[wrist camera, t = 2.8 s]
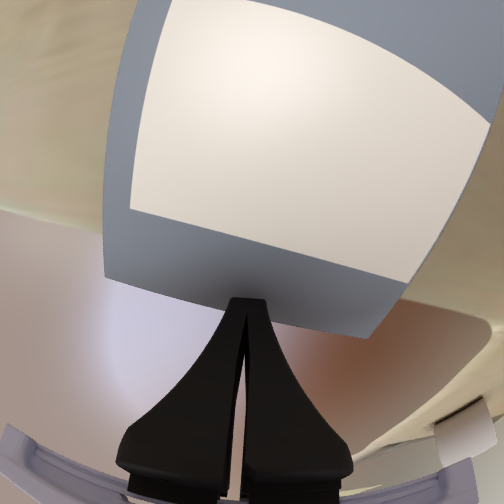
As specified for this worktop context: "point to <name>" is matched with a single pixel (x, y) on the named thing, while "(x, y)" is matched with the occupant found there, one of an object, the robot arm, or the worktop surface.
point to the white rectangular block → (300, 137)
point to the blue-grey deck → (262, 255)
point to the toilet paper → (465, 434)
